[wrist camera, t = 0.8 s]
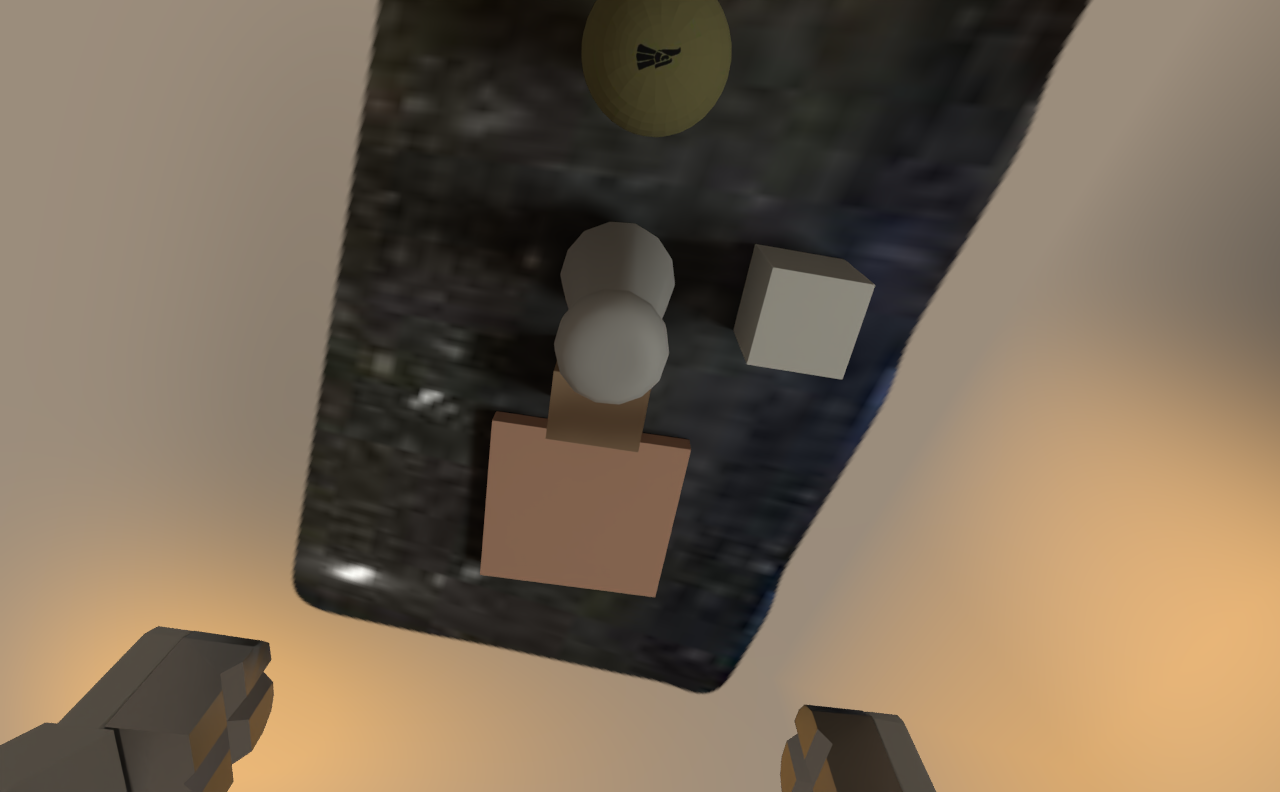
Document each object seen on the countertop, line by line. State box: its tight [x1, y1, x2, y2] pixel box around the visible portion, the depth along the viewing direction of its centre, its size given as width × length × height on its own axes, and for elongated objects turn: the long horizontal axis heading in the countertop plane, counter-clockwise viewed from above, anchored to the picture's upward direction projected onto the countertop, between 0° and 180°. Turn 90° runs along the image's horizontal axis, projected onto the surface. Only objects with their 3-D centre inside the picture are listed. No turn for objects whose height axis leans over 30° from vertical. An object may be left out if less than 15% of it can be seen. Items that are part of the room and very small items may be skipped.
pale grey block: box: [733, 244, 875, 379], centre depth 33 cm, size 5×5×5 cm
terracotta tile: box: [480, 411, 691, 597], centre depth 41 cm, size 12×12×1 cm
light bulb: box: [582, 0, 731, 137], centre depth 25 cm, size 6×6×10 cm
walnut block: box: [546, 362, 651, 452], centre depth 35 cm, size 4×5×5 cm
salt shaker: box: [554, 222, 675, 405], centre depth 28 cm, size 6×6×13 cm
